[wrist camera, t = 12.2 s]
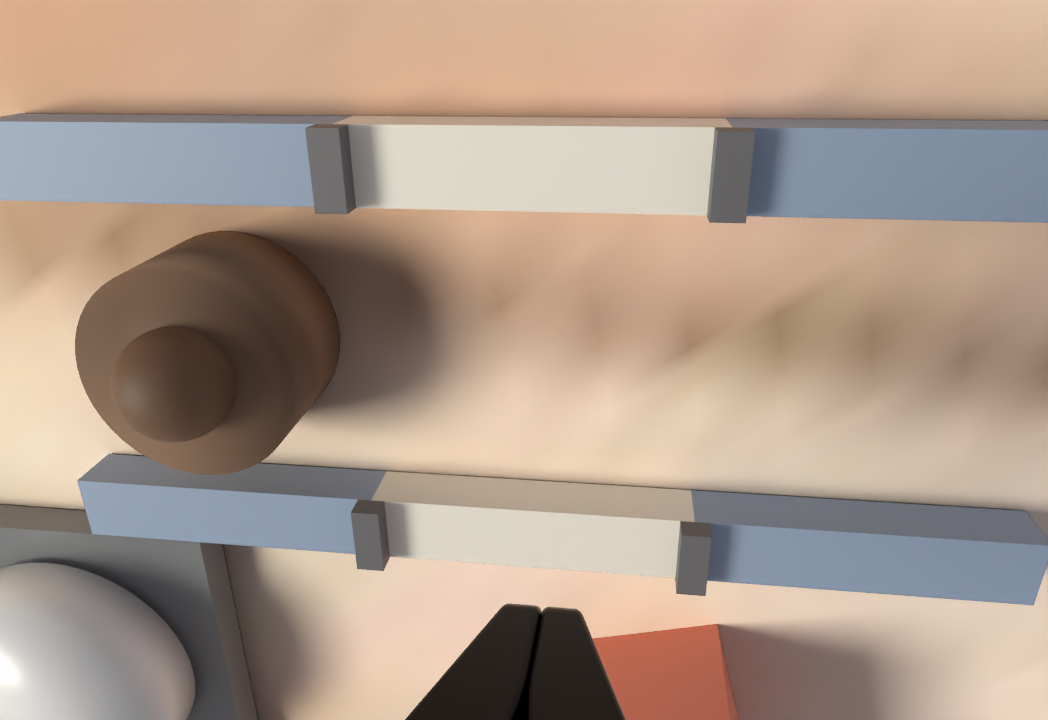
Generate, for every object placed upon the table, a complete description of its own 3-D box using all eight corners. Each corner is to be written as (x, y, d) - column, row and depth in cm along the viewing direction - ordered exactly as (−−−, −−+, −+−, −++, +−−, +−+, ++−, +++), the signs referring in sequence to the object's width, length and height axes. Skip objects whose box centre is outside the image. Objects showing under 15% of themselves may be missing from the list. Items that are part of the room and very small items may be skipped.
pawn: (347, 423, 18) (274, 527, 15) (166, 405, 19) (53, 502, 15) (334, 237, 16) (249, 303, 13) (134, 223, 17) (-3, 282, 13)
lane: (1008, 567, 17) (1045, 622, 16) (122, 505, 20) (79, 547, 18) (1143, 121, 13) (1209, 135, 12) (19, 113, 16) (-46, 124, 14)
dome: (223, 741, 22) (180, 820, 20) (15, 720, 23) (-48, 792, 21) (181, 558, 20) (125, 625, 17) (-52, 540, 20) (-132, 602, 18)
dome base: (263, 748, 23) (250, 775, 22) (12, 721, 24) (-10, 746, 23) (217, 520, 20) (199, 542, 19) (-72, 499, 21) (-101, 519, 20)
